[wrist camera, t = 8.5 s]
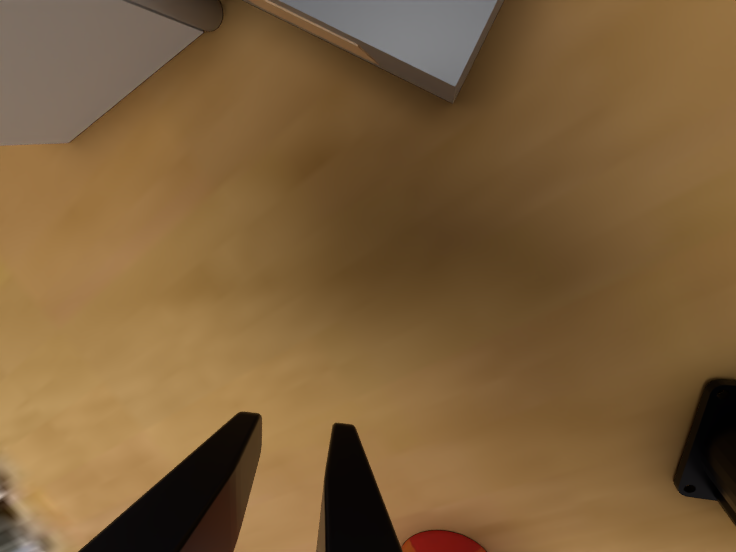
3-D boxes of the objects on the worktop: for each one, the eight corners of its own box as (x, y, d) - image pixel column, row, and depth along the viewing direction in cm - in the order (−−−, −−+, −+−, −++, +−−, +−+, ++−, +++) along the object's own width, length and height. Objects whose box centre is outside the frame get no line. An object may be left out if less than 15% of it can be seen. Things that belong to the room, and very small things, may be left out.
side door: (70, 146, 20) (-147, 156, 13) (49, 115, 20) (-188, 106, 12) (228, 18, 17) (54, -69, 9) (205, -23, 16) (5, -148, 9)
